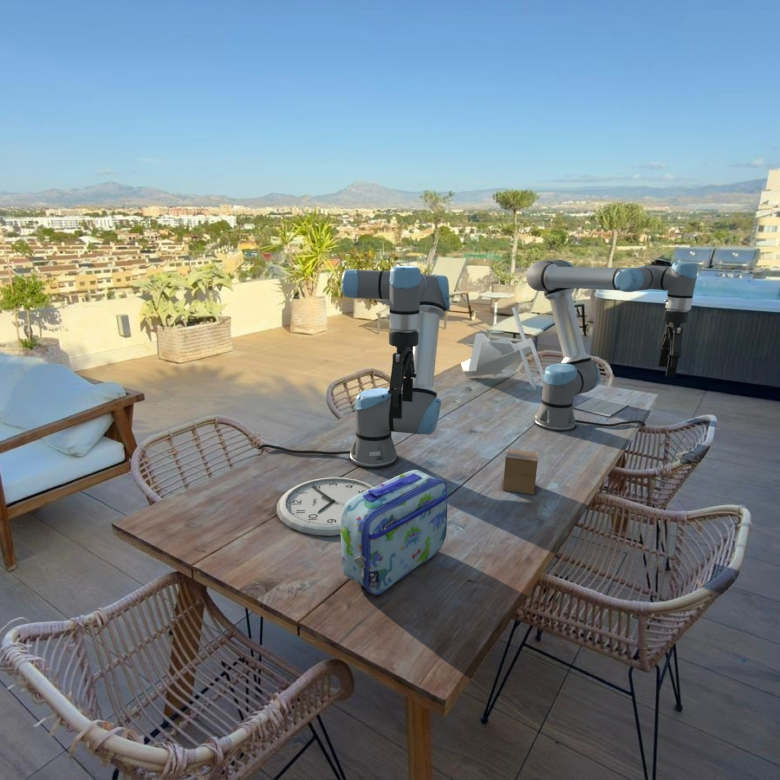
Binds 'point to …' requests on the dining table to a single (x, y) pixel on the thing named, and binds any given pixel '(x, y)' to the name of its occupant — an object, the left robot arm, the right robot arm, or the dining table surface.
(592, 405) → the invitation card
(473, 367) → the white plastic object
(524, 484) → the wooden block
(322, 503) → the wall clock
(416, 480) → the lunch box
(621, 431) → the dining table surface
